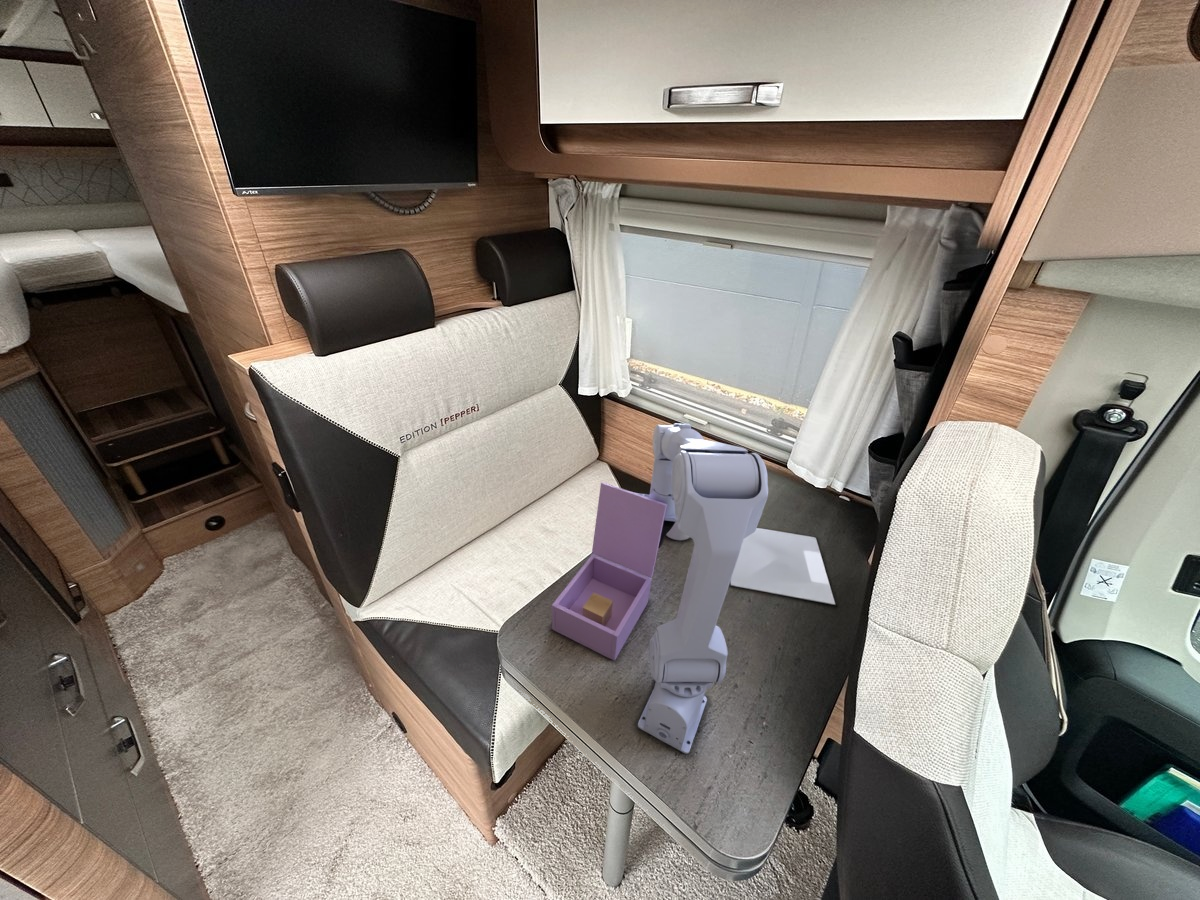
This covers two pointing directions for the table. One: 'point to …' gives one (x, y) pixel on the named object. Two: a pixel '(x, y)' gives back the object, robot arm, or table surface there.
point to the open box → (609, 583)
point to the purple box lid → (628, 528)
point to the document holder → (782, 566)
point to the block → (598, 609)
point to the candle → (676, 533)
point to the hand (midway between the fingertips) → (658, 544)
